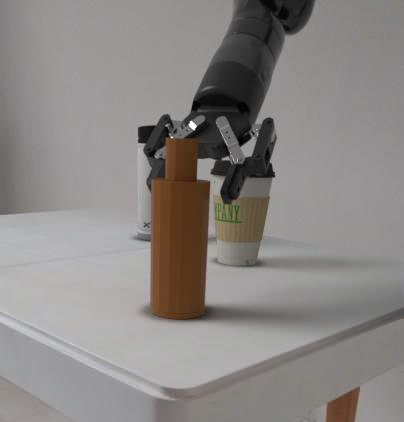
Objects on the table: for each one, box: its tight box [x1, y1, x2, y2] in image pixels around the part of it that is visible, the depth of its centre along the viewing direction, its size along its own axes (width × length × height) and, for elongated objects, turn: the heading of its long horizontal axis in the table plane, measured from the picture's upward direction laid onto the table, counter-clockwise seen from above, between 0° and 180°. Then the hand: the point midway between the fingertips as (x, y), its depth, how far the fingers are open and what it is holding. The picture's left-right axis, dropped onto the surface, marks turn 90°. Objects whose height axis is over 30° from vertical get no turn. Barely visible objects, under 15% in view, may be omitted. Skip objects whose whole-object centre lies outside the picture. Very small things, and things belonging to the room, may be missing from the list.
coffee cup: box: [209, 159, 276, 267], centre depth 87 cm, size 10×10×15 cm
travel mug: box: [137, 124, 157, 242], centre depth 103 cm, size 6×7×20 cm
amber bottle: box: [149, 138, 211, 320], centre depth 60 cm, size 6×6×18 cm
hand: (187, 196), depth 60 cm, fingers open, 8 cm apart
